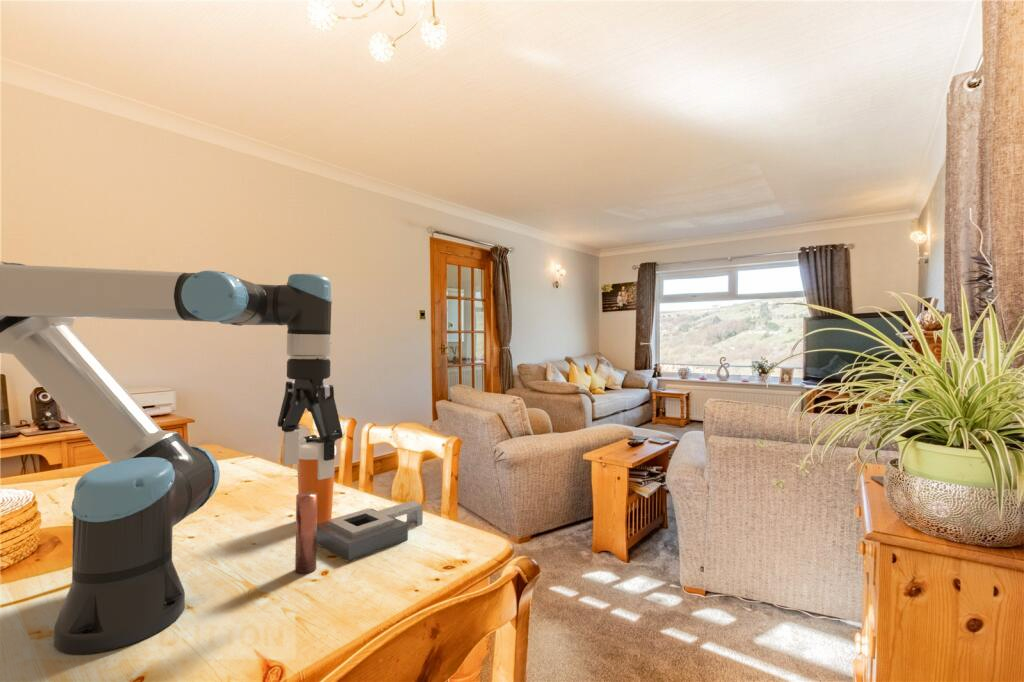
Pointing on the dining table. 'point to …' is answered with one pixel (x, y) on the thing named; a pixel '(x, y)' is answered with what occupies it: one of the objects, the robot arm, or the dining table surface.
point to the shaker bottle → (314, 477)
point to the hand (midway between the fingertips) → (307, 471)
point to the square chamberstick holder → (360, 539)
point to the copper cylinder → (306, 532)
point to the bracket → (377, 518)
